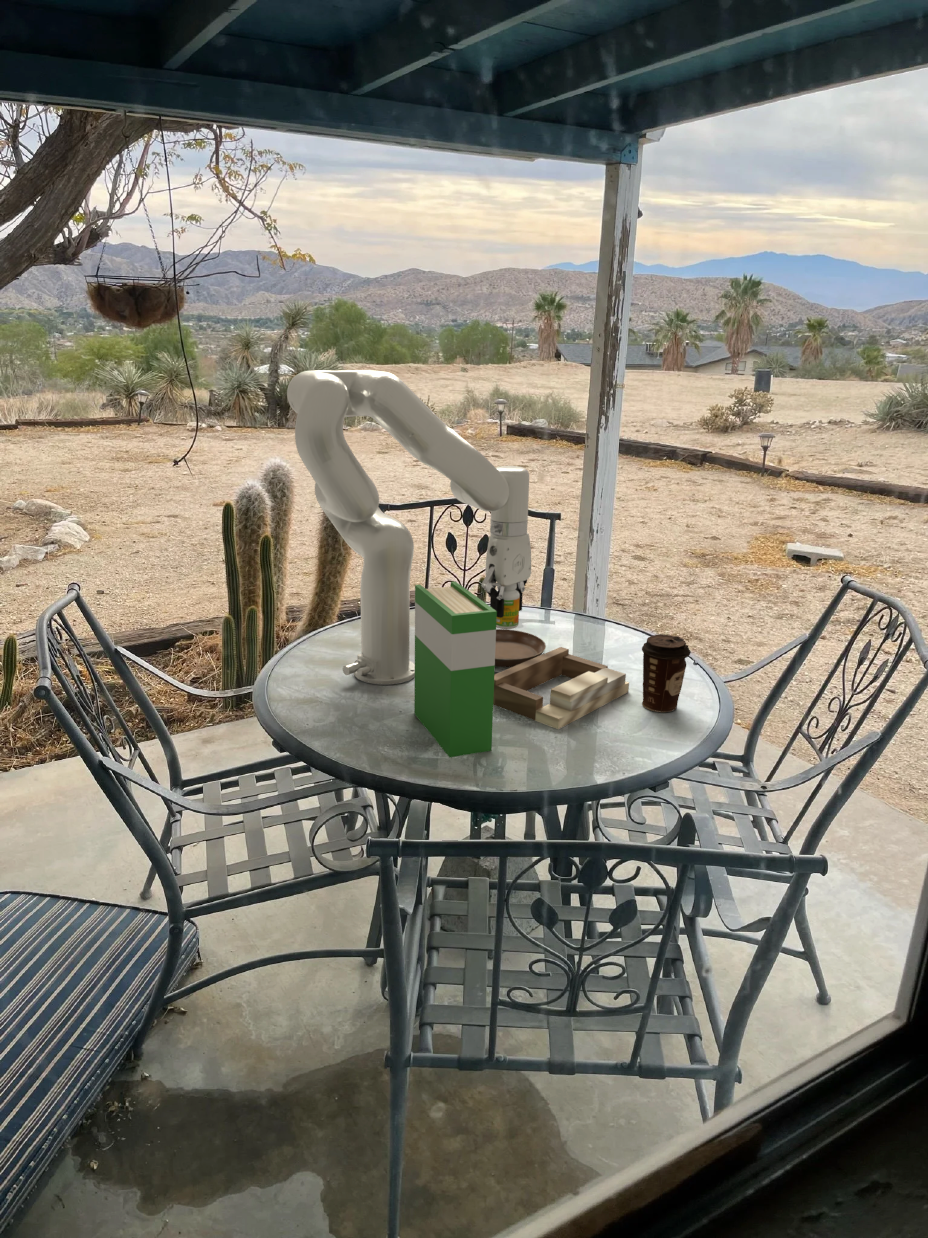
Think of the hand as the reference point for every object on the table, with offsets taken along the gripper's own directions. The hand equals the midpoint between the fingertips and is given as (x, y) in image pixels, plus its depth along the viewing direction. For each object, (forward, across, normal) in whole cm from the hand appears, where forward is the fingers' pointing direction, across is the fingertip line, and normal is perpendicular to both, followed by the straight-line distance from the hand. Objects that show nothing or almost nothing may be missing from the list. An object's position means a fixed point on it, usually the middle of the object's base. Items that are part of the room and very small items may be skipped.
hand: (506, 611), depth 178 cm
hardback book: (+10, -35, -17) cm, 40 cm away
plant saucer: (+10, 0, 0) cm, 10 cm away
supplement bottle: (+3, 0, 0) cm, 3 cm away
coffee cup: (+10, 0, -37) cm, 39 cm away
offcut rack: (+10, -10, -21) cm, 25 cm away
